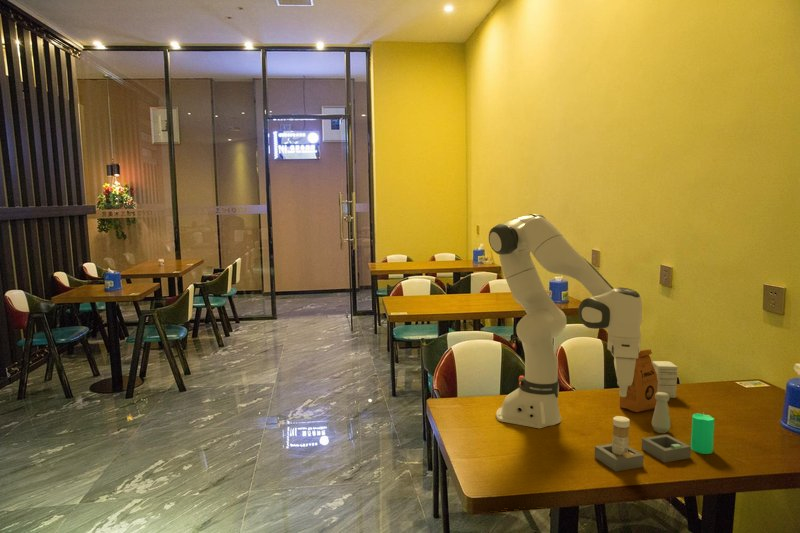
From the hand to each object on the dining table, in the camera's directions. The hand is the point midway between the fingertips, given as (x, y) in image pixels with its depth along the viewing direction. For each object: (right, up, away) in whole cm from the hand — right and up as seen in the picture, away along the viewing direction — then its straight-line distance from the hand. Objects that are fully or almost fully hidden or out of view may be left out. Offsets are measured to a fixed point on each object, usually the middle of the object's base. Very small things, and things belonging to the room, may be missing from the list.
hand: (621, 390), depth 165 cm
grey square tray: (+16, -21, +7) cm, 27 cm away
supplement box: (+40, -15, +59) cm, 72 cm away
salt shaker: (+22, -19, +24) cm, 37 cm away
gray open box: (0, -21, +1) cm, 21 cm away
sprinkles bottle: (0, -21, +1) cm, 21 cm away
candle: (+28, -20, +9) cm, 36 cm away
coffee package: (+23, -16, +44) cm, 52 cm away
